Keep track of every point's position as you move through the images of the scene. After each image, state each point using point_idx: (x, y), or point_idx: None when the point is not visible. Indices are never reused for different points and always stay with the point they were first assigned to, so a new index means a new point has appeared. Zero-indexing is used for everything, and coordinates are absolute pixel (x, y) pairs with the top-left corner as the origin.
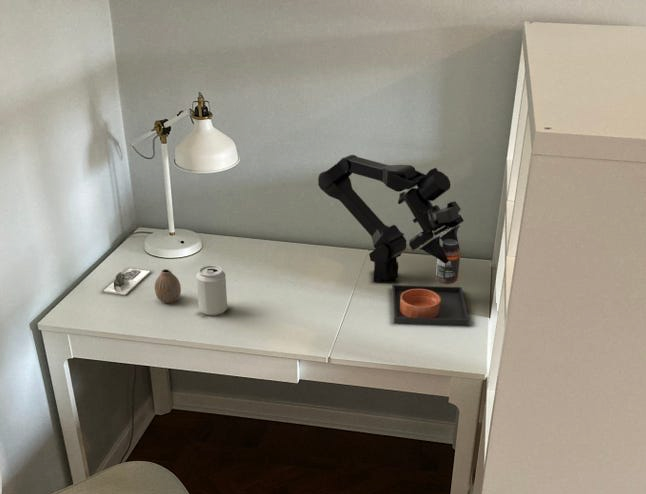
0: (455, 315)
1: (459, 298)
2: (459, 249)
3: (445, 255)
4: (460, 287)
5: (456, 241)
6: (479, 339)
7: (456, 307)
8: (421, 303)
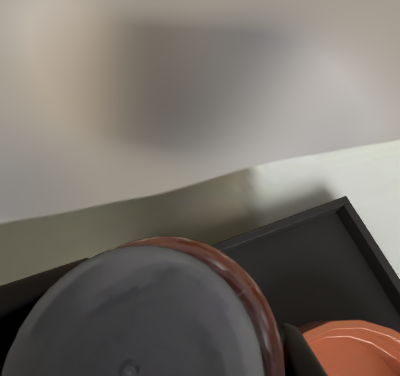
0: (299, 258)
1: None
2: (57, 271)
3: (301, 370)
4: None
5: (87, 276)
6: (391, 158)
7: None
8: None
